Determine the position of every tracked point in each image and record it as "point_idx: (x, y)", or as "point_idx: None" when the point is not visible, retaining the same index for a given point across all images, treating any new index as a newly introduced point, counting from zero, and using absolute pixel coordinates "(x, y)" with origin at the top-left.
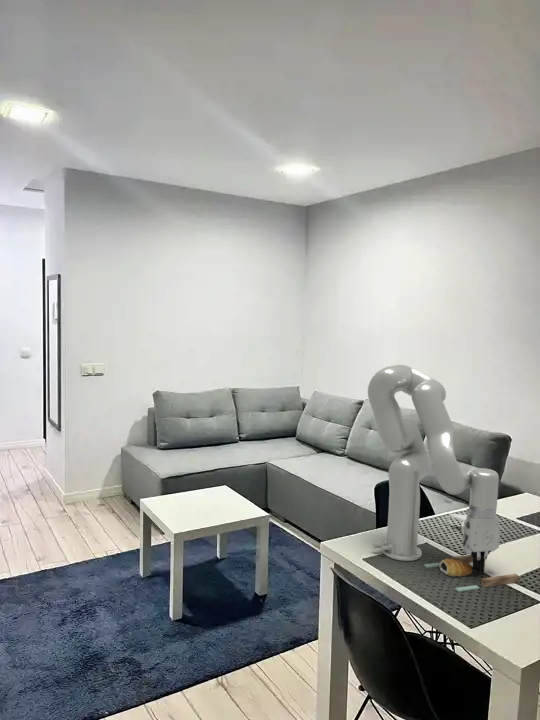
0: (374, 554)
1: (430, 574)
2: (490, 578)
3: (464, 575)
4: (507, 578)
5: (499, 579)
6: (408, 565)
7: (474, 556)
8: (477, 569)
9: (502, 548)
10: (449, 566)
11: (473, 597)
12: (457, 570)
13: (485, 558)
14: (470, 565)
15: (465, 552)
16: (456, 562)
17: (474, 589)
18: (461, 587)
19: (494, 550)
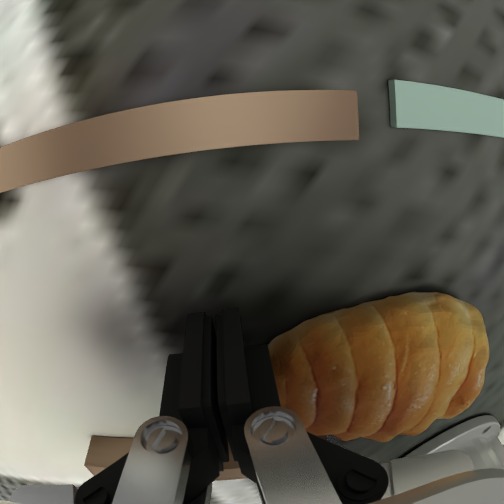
0: (501, 431)
1: (500, 323)
2: (249, 118)
3: (361, 305)
4: (35, 135)
5: (132, 109)
6: (496, 389)
7: (334, 449)
8: (243, 345)
9: (3, 462)
10: (483, 347)
11: (478, 14)
12: (444, 319)
13: (161, 428)
14: None
15: (467, 461)
16: (428, 392)
17: (431, 85)
18: (500, 132)
19: (26, 486)
